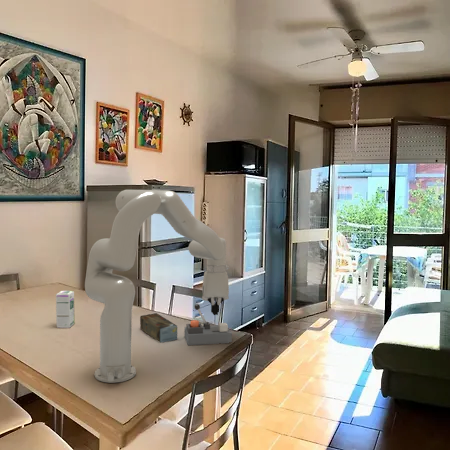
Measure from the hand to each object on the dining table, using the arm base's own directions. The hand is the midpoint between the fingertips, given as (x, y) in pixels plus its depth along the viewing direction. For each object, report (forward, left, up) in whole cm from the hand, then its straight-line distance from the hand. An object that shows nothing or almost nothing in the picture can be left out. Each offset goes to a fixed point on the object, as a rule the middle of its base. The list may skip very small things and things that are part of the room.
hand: (215, 314), depth 173 cm
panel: (-3, +3, -9) cm, 10 cm away
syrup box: (+23, +59, -10) cm, 65 cm away
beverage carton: (+7, +22, -10) cm, 25 cm away
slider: (-5, -2, -5) cm, 8 cm away
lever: (0, +3, -4) cm, 6 cm away
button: (-4, +9, -4) cm, 11 cm away
